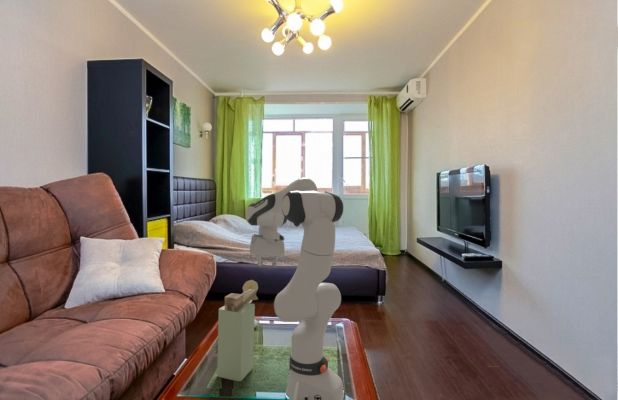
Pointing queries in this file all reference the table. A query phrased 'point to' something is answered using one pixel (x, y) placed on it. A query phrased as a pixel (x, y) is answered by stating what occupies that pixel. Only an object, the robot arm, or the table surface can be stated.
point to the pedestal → (235, 342)
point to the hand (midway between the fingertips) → (267, 265)
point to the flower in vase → (251, 285)
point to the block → (238, 300)
